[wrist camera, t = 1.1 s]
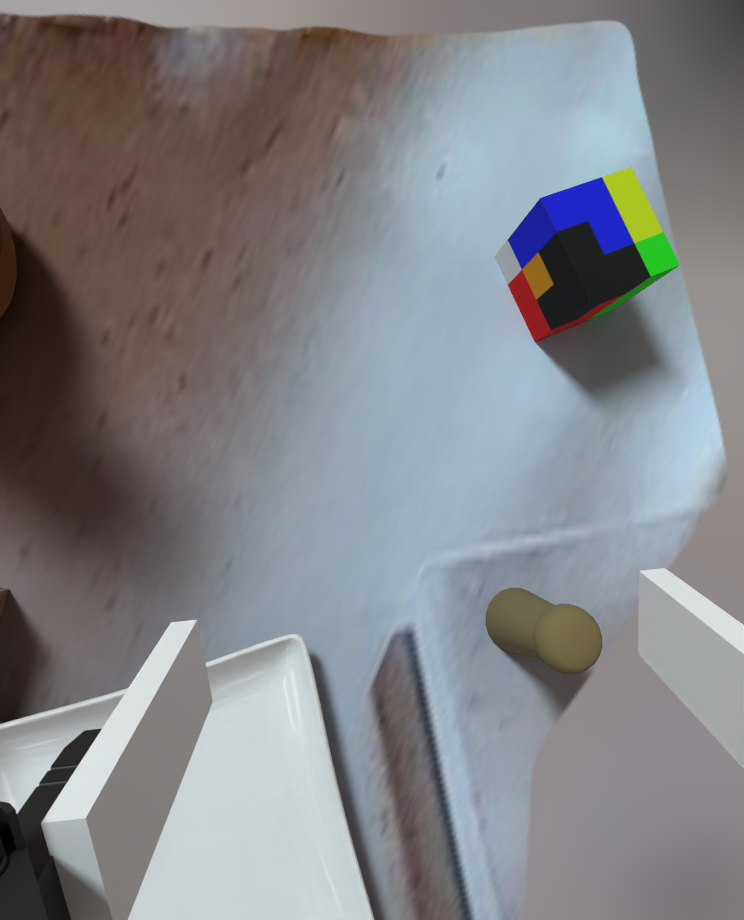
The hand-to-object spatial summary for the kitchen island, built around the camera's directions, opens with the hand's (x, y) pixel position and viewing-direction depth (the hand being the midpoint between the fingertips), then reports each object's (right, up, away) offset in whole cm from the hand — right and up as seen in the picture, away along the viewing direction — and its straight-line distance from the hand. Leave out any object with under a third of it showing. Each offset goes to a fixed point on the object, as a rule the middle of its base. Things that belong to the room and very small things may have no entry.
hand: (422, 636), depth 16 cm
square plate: (-17, -26, +28) cm, 42 cm away
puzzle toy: (+18, +24, +41) cm, 51 cm away
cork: (+12, -10, +35) cm, 38 cm away
